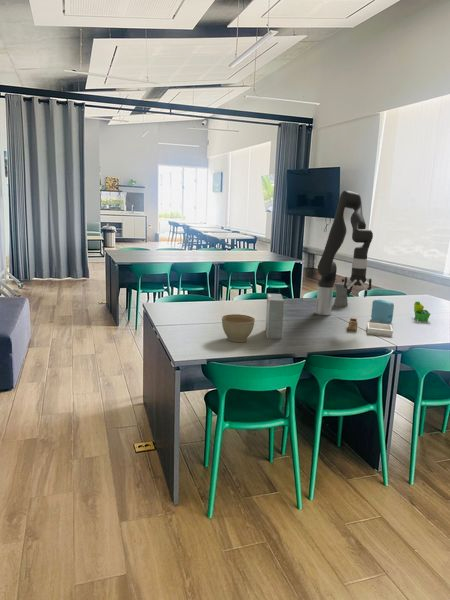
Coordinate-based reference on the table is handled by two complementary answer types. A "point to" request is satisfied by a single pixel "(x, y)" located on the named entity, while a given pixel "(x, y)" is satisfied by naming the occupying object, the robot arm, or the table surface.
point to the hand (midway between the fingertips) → (356, 296)
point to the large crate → (379, 329)
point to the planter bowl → (237, 326)
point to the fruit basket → (420, 312)
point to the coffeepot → (341, 294)
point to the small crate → (352, 324)
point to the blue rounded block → (382, 311)
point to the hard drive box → (274, 316)
